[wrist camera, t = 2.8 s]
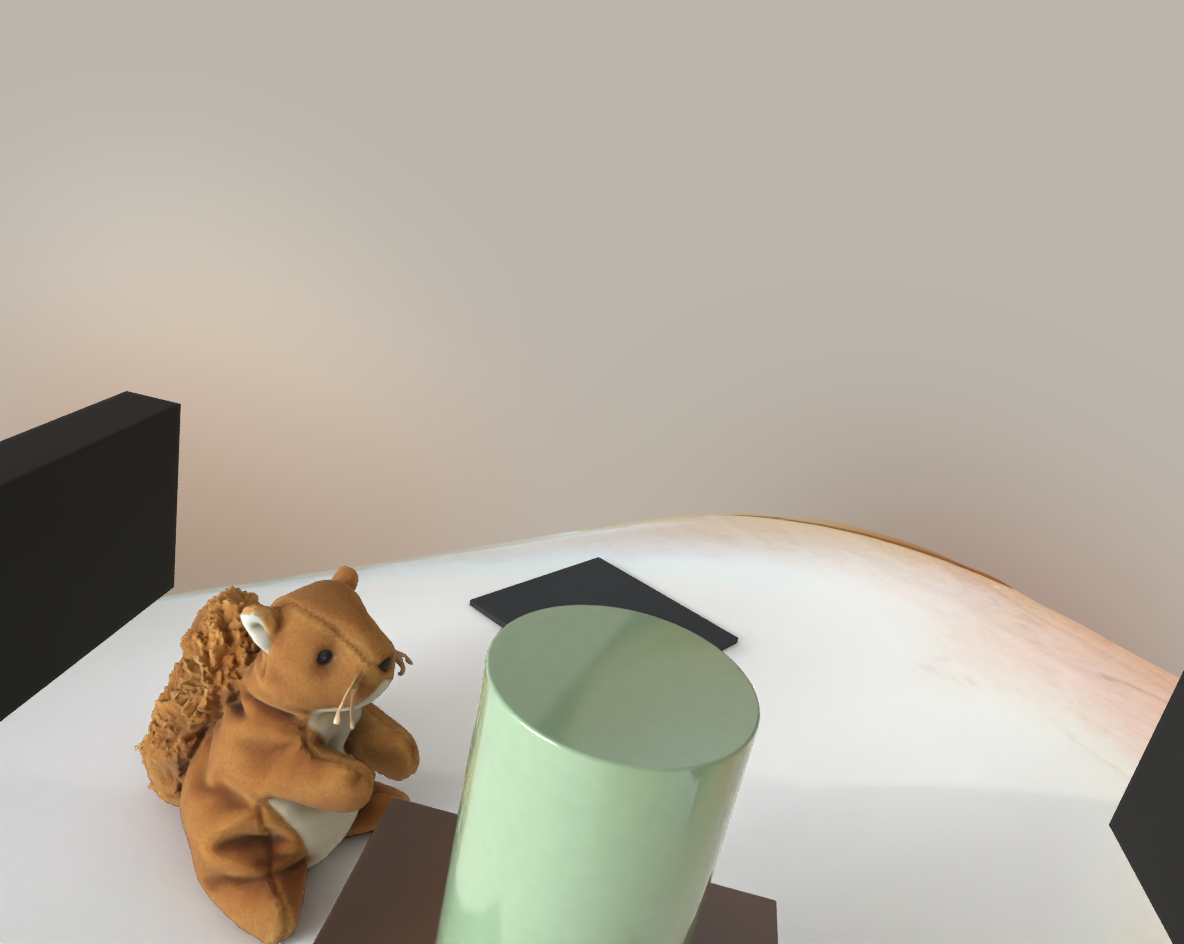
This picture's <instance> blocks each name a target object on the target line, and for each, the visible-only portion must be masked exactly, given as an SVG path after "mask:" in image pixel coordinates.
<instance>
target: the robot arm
mask: <svg viewBox="0 0 1184 944" xmlns="http://www.w3.org/2000/svg"><path fill="white" fill-rule="evenodd" d="M180 408H181V404H178V403H174V402H170V401H166V400H162V399H157V398H153V397H149V396H144V395H141V394H137V393H132V392H128V391H126V392H123V393H121V394H118V395H116V396H113V397H111V398H108V399H106V400H103V401H100V402H98V403H96V404H93V405H90V406H88V407H85V408H83V409H80V410H78V411H75V412H73V413H71V414H68V415H65V416H63V417H60V418H58V419H55V420H53V421H50V422H48V423H45V424H43V425H40V426H38V427H36V428H33V429H30V430H28V431H25V432H23V433H20V434H18V435H15V436H13V437H10V438H8V439H5V440H3V441H1V442H0V721H2V720H3V719H4V718H6V717H7V716H8V715H9V714H11V713H12V712H13V711H15V710H16V709H17V708H18V707H20V706H21V705H22V704H24V703H25V702H26V701H27V700H29V699H30V698H31V697H33V696H34V695H35V694H36V693H38V692H39V691H40V690H42V689H43V688H44V687H46V686H47V685H48V684H49V683H51V682H52V681H53V680H55V679H56V678H57V677H58V676H60V675H61V674H62V673H64V672H65V671H66V670H67V669H69V668H70V667H71V666H73V665H74V664H75V663H76V662H78V661H79V660H80V659H82V658H83V657H84V656H85V655H87V654H88V653H89V652H91V651H92V650H93V649H94V648H96V647H97V646H98V645H100V644H101V643H102V642H103V641H105V640H106V639H107V638H109V637H110V636H111V635H113V634H114V633H115V632H116V631H118V630H119V629H120V628H122V627H123V626H124V625H125V624H127V623H128V622H129V621H131V620H132V619H133V618H134V617H136V616H137V615H138V614H140V613H141V612H142V611H143V610H145V609H146V608H147V607H149V606H150V605H151V604H152V603H154V602H155V601H156V600H158V599H159V598H160V597H161V596H163V595H164V594H165V593H167V592H168V591H169V590H170V589H172V588H173V587H174V570H175V568H174V567H175V543H176V515H177V489H178V462H179V434H180ZM1109 826H1110V828H1111V829H1112V831H1113V833H1114V835H1115V837H1116V839H1117V841H1118V842H1119V844H1120V846H1121V848H1122V850H1123V852H1124V854H1125V855H1126V857H1127V859H1128V861H1129V863H1130V865H1131V867H1132V868H1133V870H1134V872H1135V874H1136V876H1137V878H1138V880H1139V881H1140V883H1141V885H1142V887H1143V889H1144V891H1145V893H1146V895H1147V896H1148V898H1149V900H1150V902H1151V904H1152V906H1153V908H1154V909H1155V911H1156V913H1157V915H1158V917H1159V919H1160V921H1161V922H1162V924H1163V926H1164V928H1165V930H1166V932H1167V934H1168V935H1169V937H1170V939H1171V941H1172V943H1173V944H1184V671H1183V673H1182V675H1181V677H1180V679H1179V681H1178V684H1177V686H1176V688H1175V690H1174V692H1173V694H1172V696H1171V698H1170V700H1169V702H1168V704H1167V706H1166V708H1165V710H1164V712H1163V714H1162V717H1161V719H1160V721H1159V723H1158V725H1157V727H1156V729H1155V731H1154V733H1153V735H1152V737H1151V739H1150V741H1149V743H1148V745H1147V747H1146V749H1145V752H1144V754H1143V756H1142V758H1141V760H1140V762H1139V764H1138V766H1137V768H1136V770H1135V772H1134V774H1133V776H1132V778H1131V780H1130V782H1129V784H1128V787H1127V789H1126V791H1125V793H1124V795H1123V797H1122V799H1121V801H1120V803H1119V805H1118V807H1117V809H1116V811H1115V813H1114V815H1113V817H1112V819H1111V822H1110V824H1109Z"/></svg>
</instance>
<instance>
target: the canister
mask: <svg viewBox="0 0 1184 944" xmlns="http://www.w3.org/2000/svg"><path fill="white" fill-rule="evenodd" d="M759 721H760V707H759V703H758V699H757V695H756V693H755V690H754V688H753V686H752V684H751V683H750V681H749V680H748V678H747V677H746V675H745V674H744V672H743V671H742V670H741V669H740V668H739V667H738V666H737V664H736V663H735V662H733V661H732V660H731V659H730V658H729V657H728V656H727V655H726V654H725V653H723V652H722V651H721V650H719V649H718V648H717V647H716V646H714V645H713V644H711V643H710V642H708V641H706V640H705V639H703V638H702V637H700V636H698V635H696V634H694V633H693V632H691V631H689V630H687V629H684V628H682V627H680V626H678V625H676V624H673V623H671V622H668V621H665V620H663V619H660V618H657V617H654V616H651V615H647V614H644V613H640V612H636V611H632V610H627V609H621V608H616V607H608V606H599V605H566V606H557V607H550V608H545V609H541V610H537V611H534V612H531V613H528V614H526V615H523V616H521V617H519V618H517V619H515V620H513V621H512V622H510V623H509V624H507V625H506V626H505V627H504V628H503V629H501V630H500V631H499V632H498V634H497V635H496V636H495V638H494V639H493V640H492V642H491V644H490V646H489V648H488V650H487V655H486V659H485V665H484V670H483V676H482V682H481V687H480V693H479V699H478V704H477V710H476V715H475V721H474V727H473V732H472V738H471V744H470V749H469V755H468V760H467V766H466V772H465V777H464V783H463V788H462V794H461V800H460V805H459V811H458V817H457V822H456V828H455V833H454V839H453V845H452V850H451V856H450V861H449V867H448V873H447V878H446V884H445V890H444V895H443V901H442V906H441V912H440V918H439V923H438V929H437V934H436V940H435V944H691V943H692V940H693V937H694V934H695V930H696V927H697V924H698V921H699V917H700V914H701V911H702V908H703V905H704V901H705V898H706V895H707V892H708V888H709V885H710V882H711V879H712V875H713V872H714V869H715V866H716V862H717V859H718V856H719V853H720V850H721V846H722V843H723V840H724V837H725V833H726V830H727V827H728V824H729V820H730V817H731V814H732V811H733V808H734V804H735V801H736V798H737V795H738V791H739V788H740V785H741V782H742V778H743V775H744V772H745V769H746V765H747V762H748V759H749V756H750V753H751V749H752V746H753V743H754V740H755V736H756V733H757V730H758V726H759Z"/></svg>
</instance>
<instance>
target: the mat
mask: <svg viewBox="0 0 1184 944" xmlns="http://www.w3.org/2000/svg"><path fill="white" fill-rule="evenodd" d="M470 605H471V606H473V607H474V608H476V609H477V610H479V611H480V612H482V613H483V614H484V615H486V616H487V617H489V618H490V619H492V620H493V621H495V622H496V623H497V624H499V625H500V626H502V627H503V628H504V627H505V626H506V625H507V624H509V623H510V622H512V621H513V620H515V619H517V618H519V617H521V616H523V615H526V614H528V613H531V612H534V611H537V610H541V609H545V608H550V607H557V606H566V605H599V606H608V607H616V608H621V609H627V610H632V611H636V612H640V613H644V614H647V615H651V616H654V617H657V618H660V619H663V620H665V621H668V622H671V623H673V624H676V625H678V626H680V627H682V628H684V629H687V630H689V631H691V632H693V633H694V634H696V635H698V636H700V637H702V638H703V639H705V640H706V641H708V642H710V643H711V644H713V645H714V646H716V647H717V648H718V649H719V650H721V651H722V650H723V649H725V648H727V647H729V646H731V645H733V644H735V643H737V641H738V638H737V637H736V636H734V635H732V634H731V633H729V632H727V631H725V630H724V629H722V628H720V627H718V626H717V625H715V624H713V623H712V622H710V621H708V620H706V619H705V618H703V617H701V616H699V615H698V614H696V613H694V612H693V611H691V610H689V609H687V608H686V607H684V606H682V605H680V604H679V603H677V602H675V601H674V600H672V599H670V598H668V597H667V596H665V595H663V594H661V593H660V592H658V591H656V590H655V589H653V588H651V587H649V586H648V585H646V584H644V583H642V582H641V581H639V580H637V579H636V578H634V577H632V576H630V575H629V574H627V573H625V572H623V571H622V570H620V569H618V568H617V567H615V566H613V565H611V564H610V563H608V562H606V561H604V560H603V559H601V558H599V557H598V558H595V559H592V560H589V561H586V562H583V563H580V564H577V565H574V566H571V567H568V568H565V569H562V570H559V571H556V572H553V573H550V574H547V575H544V576H541V577H538V578H535V579H532V580H529V581H526V582H523V583H520V584H517V585H514V586H511V587H508V588H505V589H502V590H499V591H496V592H493V593H490V594H487V595H484V596H481V597H478V598H475V599H472V600H470Z"/></svg>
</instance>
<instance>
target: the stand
mask: <svg viewBox="0 0 1184 944" xmlns="http://www.w3.org/2000/svg"><path fill="white" fill-rule="evenodd" d="M457 817H458V814H454V813H450V812H447V811H443V810H439V809H435V808H432V807H428V806H424V805H421V804H417V803H413V802H410V801H406V800H402V799H399V798H395V797H392V798H391V800H390V802H389V804H388V806H387V807H386V809H385V811H384V813H383V815H382V817H381V819H380V820H379V822H378V824H377V826H376V828H375V830H374V832H373V833H372V835H371V837H370V839H369V841H368V843H367V845H366V846H365V848H364V850H363V852H362V854H361V856H360V858H359V859H358V861H357V863H356V865H355V867H354V869H353V871H352V872H351V874H350V876H349V878H348V880H347V882H346V884H345V885H344V887H343V889H342V891H341V893H340V895H339V897H338V898H337V900H336V902H335V904H334V906H333V908H332V910H331V911H330V913H329V915H328V917H327V919H326V921H325V923H324V924H323V926H322V928H321V930H320V932H319V934H318V936H317V937H316V939H315V941H314V943H313V944H435V940H436V934H437V929H438V923H439V918H440V912H441V906H442V901H443V895H444V890H445V884H446V878H447V873H448V867H449V861H450V856H451V850H452V845H453V839H454V833H455V828H456V822H457ZM691 944H778V931H777V907H776V901H775V900H772V899H768V898H764V897H760V896H757V895H753V894H749V893H746V892H742V891H738V890H735V889H731V888H727V887H724V886H720V885H716V884H712V883H710V885H709V888H708V892H707V895H706V898H705V901H704V905H703V908H702V911H701V914H700V917H699V921H698V924H697V927H696V930H695V934H694V937H693V940H692V943H691Z"/></svg>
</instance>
